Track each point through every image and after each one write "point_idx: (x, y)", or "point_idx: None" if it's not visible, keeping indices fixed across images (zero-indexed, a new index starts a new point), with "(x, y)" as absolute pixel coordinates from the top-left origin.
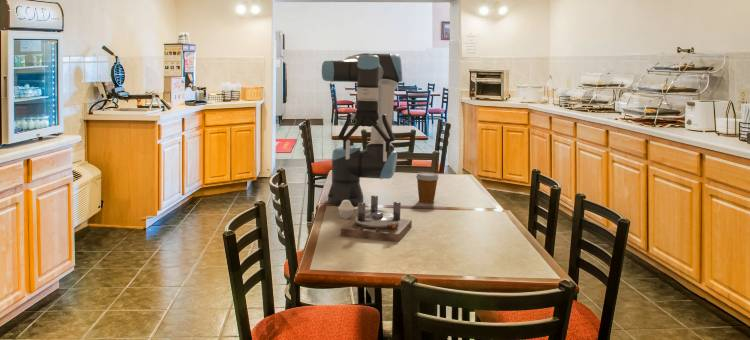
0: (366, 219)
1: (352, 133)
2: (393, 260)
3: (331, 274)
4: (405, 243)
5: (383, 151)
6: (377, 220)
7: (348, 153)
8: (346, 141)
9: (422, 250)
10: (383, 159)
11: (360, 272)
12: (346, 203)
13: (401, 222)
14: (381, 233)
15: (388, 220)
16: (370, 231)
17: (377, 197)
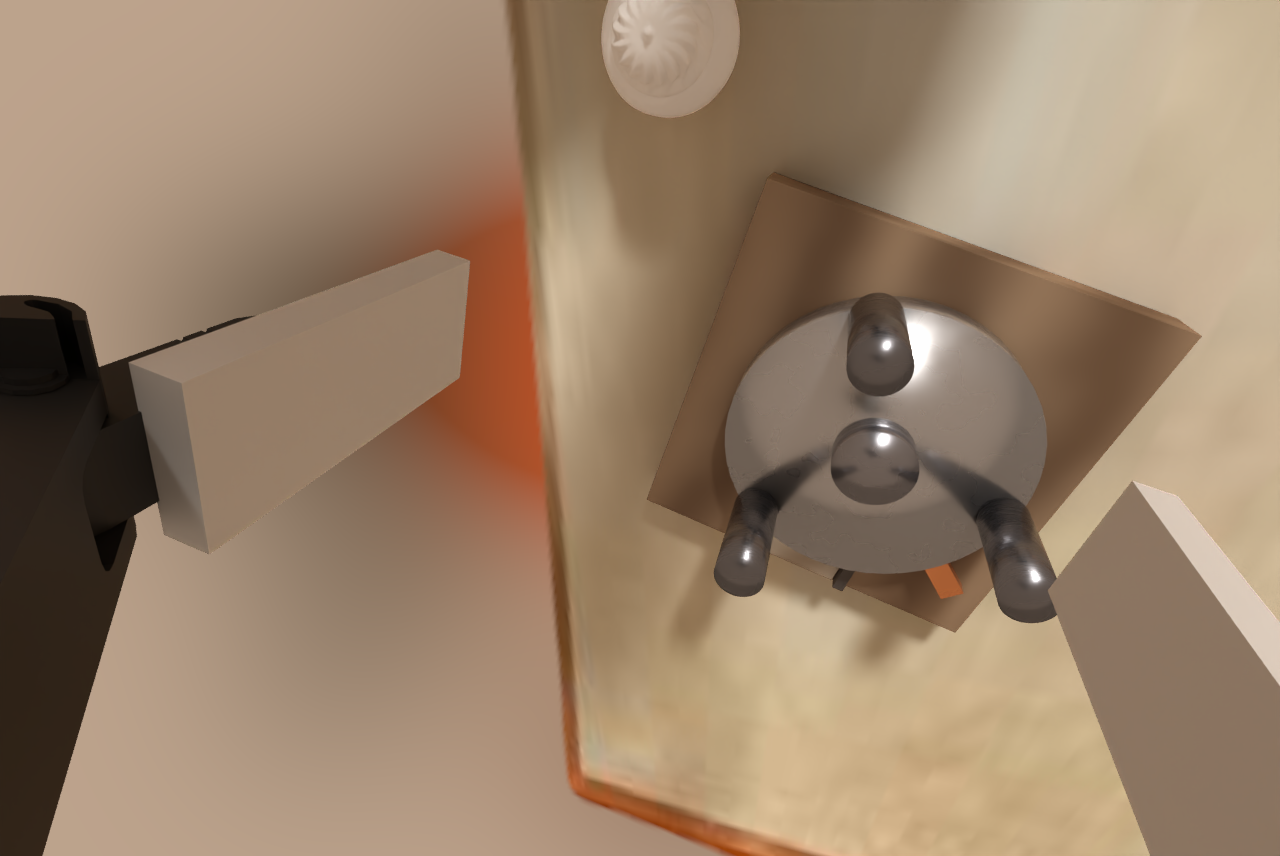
0: (791, 490)
1: (34, 652)
2: (860, 782)
3: (644, 817)
4: (983, 629)
5: (1113, 747)
6: (860, 518)
7: (407, 368)
8: (183, 536)
9: (1035, 725)
10: (1065, 618)
11: (729, 829)
12: (657, 84)
13: (1072, 404)
14: (863, 590)
15: (937, 525)
16: (805, 565)
17: (905, 382)
